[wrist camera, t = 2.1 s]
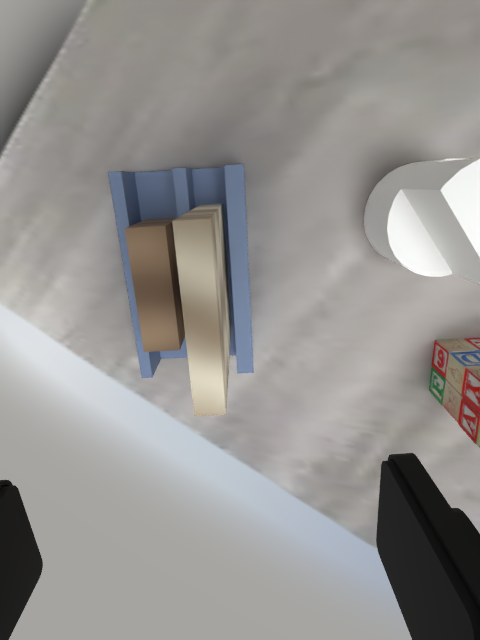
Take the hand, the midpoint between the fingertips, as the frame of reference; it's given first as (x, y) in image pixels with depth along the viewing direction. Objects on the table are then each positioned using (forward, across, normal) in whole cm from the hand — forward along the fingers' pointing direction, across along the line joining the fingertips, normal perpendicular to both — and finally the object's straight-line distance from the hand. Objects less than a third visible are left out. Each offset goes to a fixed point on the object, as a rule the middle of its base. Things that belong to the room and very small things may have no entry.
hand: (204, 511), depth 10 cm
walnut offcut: (+28, +5, 0) cm, 28 cm away
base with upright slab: (+29, -18, -4) cm, 34 cm away
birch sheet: (+28, +1, 0) cm, 28 cm away
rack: (+29, +3, -1) cm, 29 cm away
